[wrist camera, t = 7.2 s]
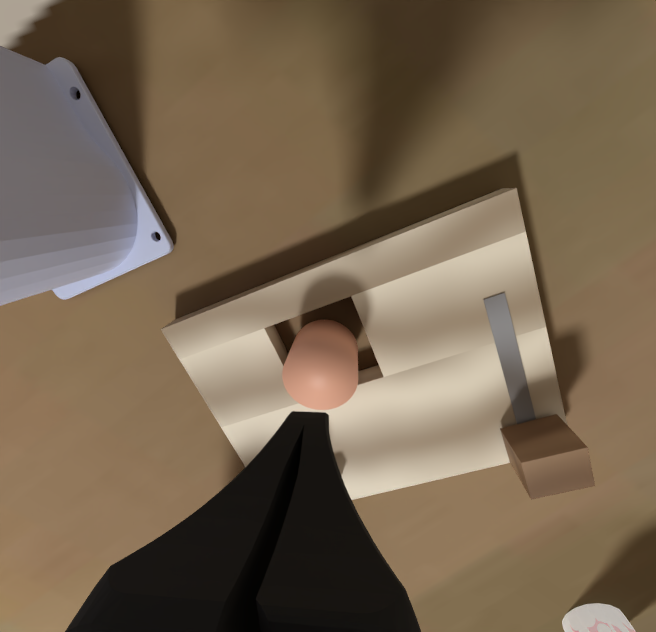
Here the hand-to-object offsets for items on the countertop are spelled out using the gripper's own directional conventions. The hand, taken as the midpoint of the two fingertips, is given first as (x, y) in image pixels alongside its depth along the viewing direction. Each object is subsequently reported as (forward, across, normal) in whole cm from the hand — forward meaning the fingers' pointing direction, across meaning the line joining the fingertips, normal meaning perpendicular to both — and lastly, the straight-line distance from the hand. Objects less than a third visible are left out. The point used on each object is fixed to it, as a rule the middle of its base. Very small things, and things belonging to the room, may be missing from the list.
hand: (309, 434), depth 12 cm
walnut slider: (+6, -12, +5) cm, 14 cm away
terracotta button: (+7, 0, 0) cm, 7 cm away
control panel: (+8, -2, +2) cm, 9 cm away
